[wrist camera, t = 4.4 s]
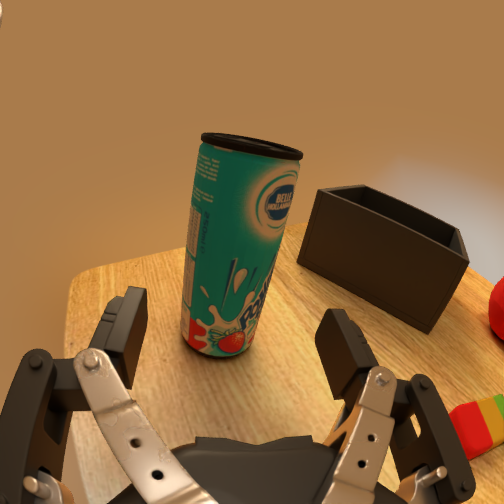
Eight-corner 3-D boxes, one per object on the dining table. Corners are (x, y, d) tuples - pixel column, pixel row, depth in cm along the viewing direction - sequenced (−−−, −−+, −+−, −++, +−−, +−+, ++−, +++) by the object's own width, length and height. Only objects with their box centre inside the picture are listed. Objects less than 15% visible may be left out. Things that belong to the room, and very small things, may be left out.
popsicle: (439, 416, 16) (453, 403, 15) (512, 396, 17) (522, 385, 16) (456, 466, 11) (472, 455, 10) (527, 428, 12) (538, 418, 11)
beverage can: (215, 375, 18) (261, 150, 11) (165, 328, 21) (180, 130, 14) (266, 339, 22) (321, 156, 16) (217, 303, 25) (248, 136, 19)
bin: (296, 262, 36) (317, 189, 31) (346, 233, 50) (362, 184, 46) (428, 335, 26) (469, 261, 22) (436, 279, 41) (459, 229, 36)
